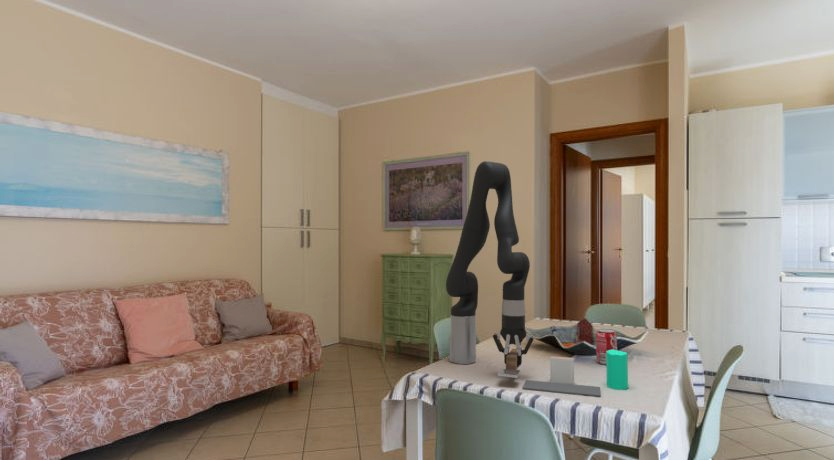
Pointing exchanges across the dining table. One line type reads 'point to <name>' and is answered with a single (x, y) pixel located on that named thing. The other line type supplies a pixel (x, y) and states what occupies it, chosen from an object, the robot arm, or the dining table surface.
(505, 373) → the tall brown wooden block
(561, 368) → the tile
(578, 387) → the mat
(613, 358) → the candle
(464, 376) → the dining table surface
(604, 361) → the soda can
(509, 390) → the dining table surface
